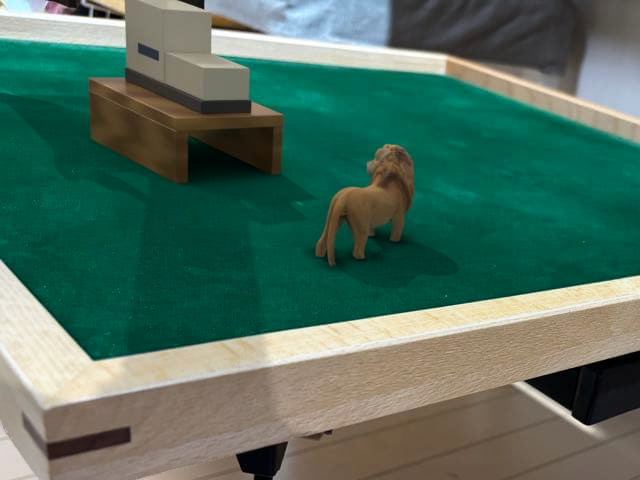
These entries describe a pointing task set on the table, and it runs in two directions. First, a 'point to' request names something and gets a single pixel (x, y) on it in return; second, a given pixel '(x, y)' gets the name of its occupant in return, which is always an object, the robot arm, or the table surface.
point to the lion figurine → (372, 202)
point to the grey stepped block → (181, 58)
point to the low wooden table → (178, 129)
